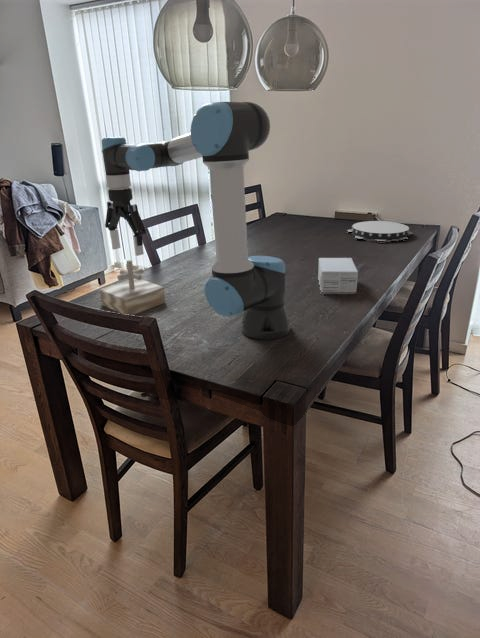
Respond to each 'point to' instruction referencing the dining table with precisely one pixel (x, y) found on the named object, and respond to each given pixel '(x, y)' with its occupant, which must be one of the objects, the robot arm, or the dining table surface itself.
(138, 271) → the pipe connector
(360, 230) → the tambourine
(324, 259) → the supplement box
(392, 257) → the dining table surface
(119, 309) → the stand
